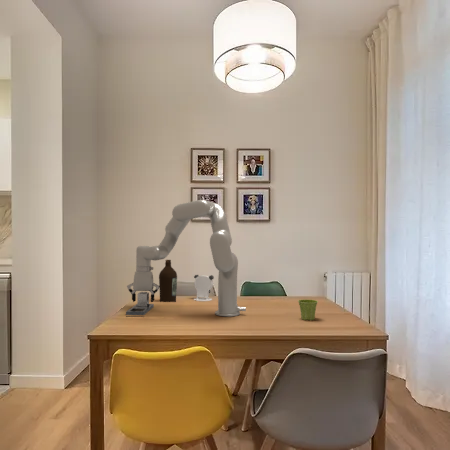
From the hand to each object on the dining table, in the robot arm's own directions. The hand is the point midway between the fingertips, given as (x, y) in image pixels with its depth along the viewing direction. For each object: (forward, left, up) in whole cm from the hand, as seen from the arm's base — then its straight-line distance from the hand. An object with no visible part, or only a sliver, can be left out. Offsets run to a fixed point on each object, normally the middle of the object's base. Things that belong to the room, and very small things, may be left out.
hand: (143, 301), depth 216 cm
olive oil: (-9, -24, -5) cm, 26 cm away
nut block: (0, 0, -3) cm, 3 cm away
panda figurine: (-29, -35, -5) cm, 45 cm away
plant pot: (-84, +17, -5) cm, 86 cm away
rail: (0, +6, -4) cm, 7 cm away
